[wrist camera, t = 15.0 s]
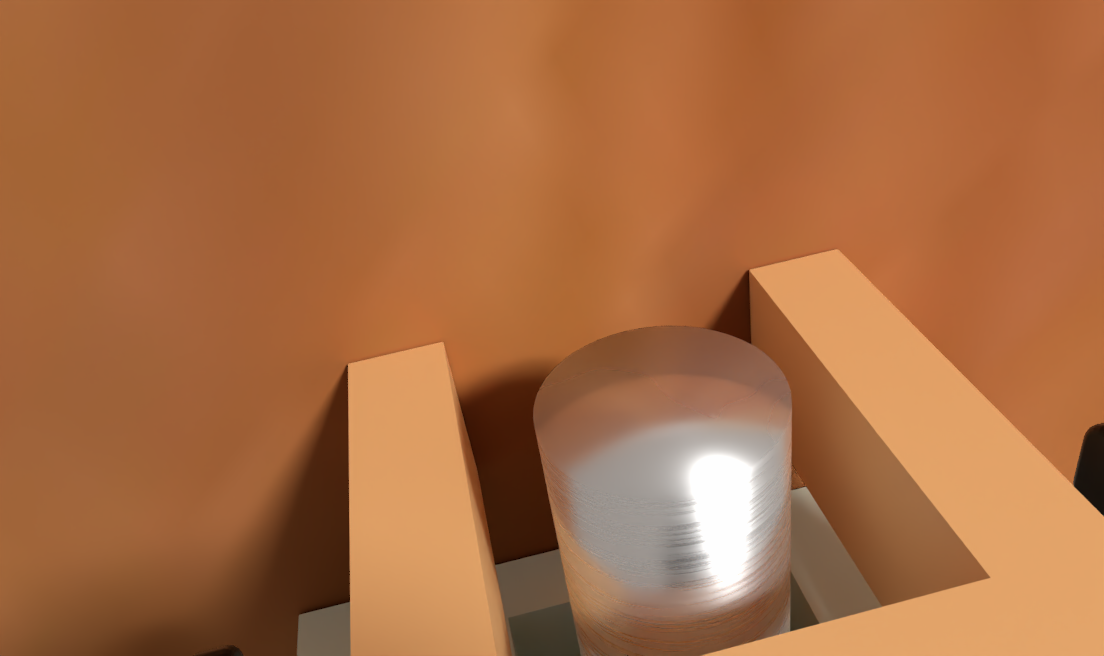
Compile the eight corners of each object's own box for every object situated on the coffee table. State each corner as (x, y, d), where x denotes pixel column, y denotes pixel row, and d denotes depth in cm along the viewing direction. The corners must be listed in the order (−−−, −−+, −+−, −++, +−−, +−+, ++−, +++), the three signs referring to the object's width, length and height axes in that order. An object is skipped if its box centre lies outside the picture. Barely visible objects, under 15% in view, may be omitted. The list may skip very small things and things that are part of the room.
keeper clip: (833, 382, 13) (1186, 835, 7) (391, 491, 12) (430, 1061, 7) (837, 249, 12) (1263, 676, 6) (348, 364, 11) (353, 935, 6)
